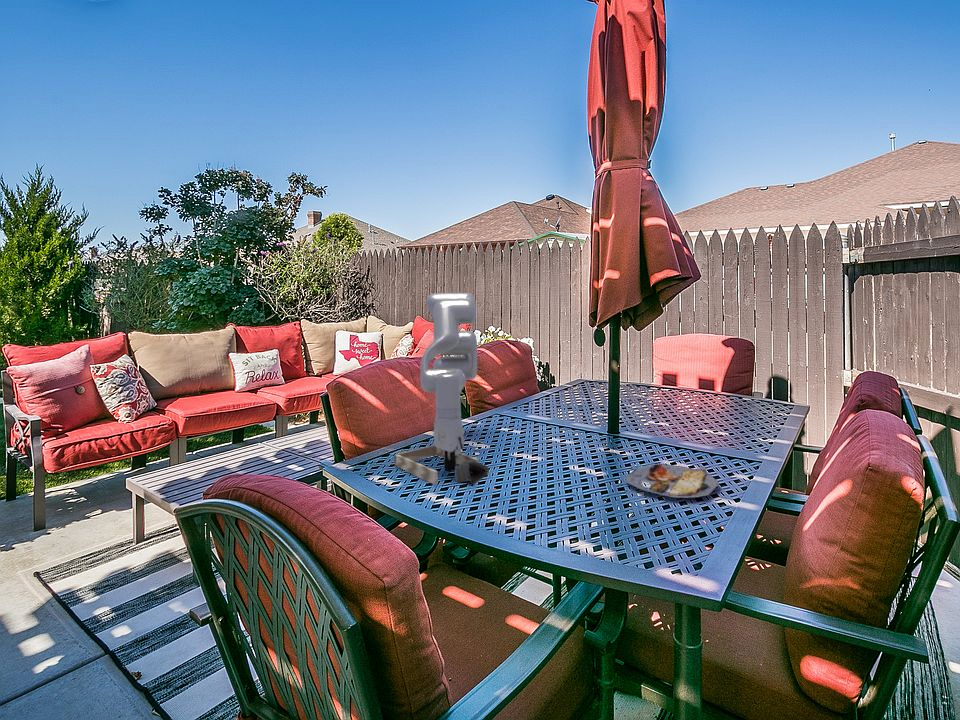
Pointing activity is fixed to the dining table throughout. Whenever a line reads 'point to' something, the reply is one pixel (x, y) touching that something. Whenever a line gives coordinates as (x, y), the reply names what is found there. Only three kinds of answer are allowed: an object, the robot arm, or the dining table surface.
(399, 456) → the beige u-shaped frame
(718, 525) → the dining table surface
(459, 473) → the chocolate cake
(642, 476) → the food plate
